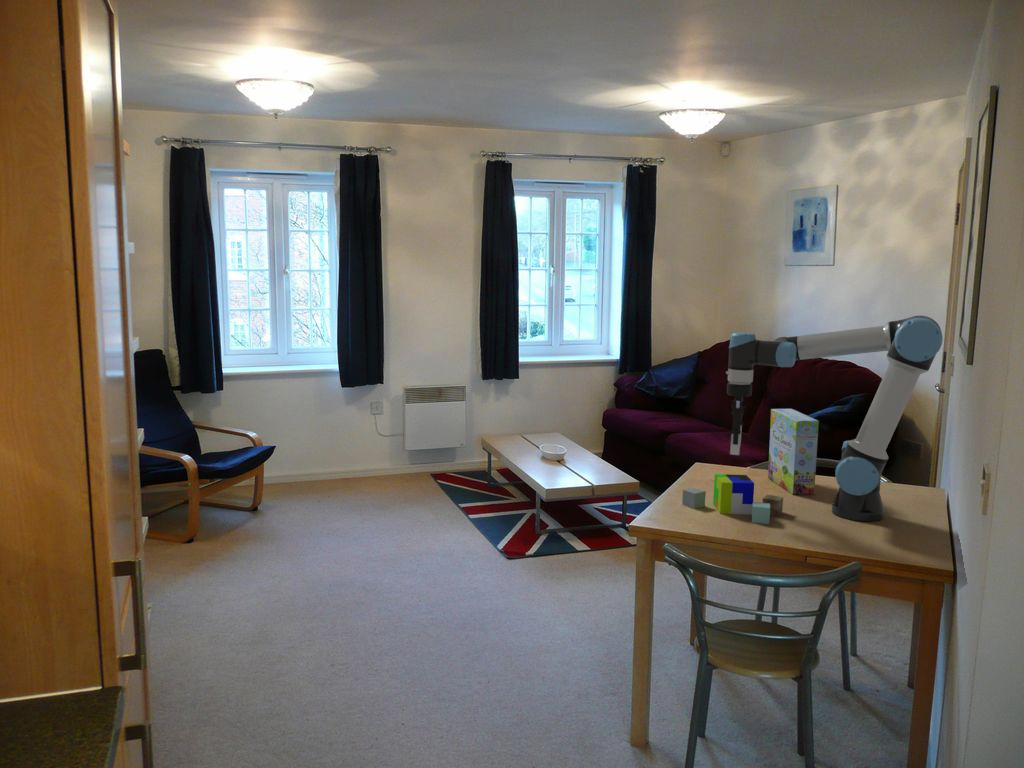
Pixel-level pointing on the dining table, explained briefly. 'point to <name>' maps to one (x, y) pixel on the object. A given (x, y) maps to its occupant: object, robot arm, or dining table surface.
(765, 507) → the dusty teal cube
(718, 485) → the puzzle toy
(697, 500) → the slate grey cube
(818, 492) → the dining table surface
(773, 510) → the walnut cube
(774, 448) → the snack box
